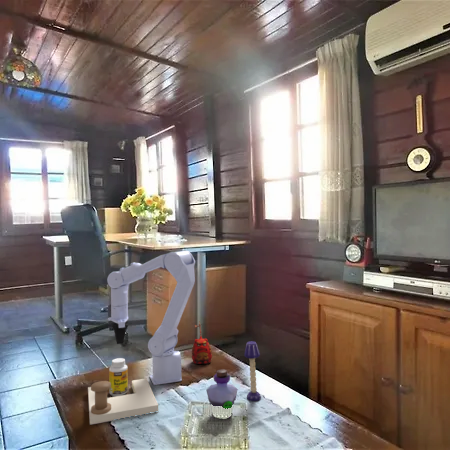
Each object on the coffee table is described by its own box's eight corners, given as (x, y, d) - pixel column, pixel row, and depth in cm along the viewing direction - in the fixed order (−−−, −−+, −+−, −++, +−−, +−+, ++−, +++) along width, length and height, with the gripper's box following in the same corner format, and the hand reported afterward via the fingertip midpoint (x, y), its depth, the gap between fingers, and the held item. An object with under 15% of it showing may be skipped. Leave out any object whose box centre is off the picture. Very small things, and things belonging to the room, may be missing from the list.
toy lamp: (249, 403, 112) (249, 345, 112) (241, 396, 116) (241, 341, 116) (263, 399, 114) (263, 343, 114) (255, 393, 118) (254, 339, 118)
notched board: (146, 384, 125) (146, 357, 126) (158, 412, 107) (158, 380, 107) (88, 393, 119) (87, 365, 119) (89, 424, 100) (89, 391, 100)
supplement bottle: (111, 398, 116) (111, 364, 116) (107, 391, 120) (107, 359, 120) (130, 394, 118) (129, 361, 118) (125, 387, 123) (124, 355, 123)
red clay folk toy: (193, 366, 142) (192, 325, 142) (190, 359, 148) (190, 321, 148) (213, 364, 143) (213, 324, 143) (209, 358, 150) (209, 319, 150)
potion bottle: (222, 426, 99) (222, 379, 99) (199, 415, 105) (199, 371, 105) (244, 414, 105) (244, 370, 105) (221, 404, 111) (221, 362, 111)
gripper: (106, 302, 141) (106, 338, 141) (109, 310, 128) (109, 350, 128) (126, 300, 144) (126, 336, 144) (130, 308, 130) (131, 348, 130)
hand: (119, 343), depth 136 cm, fingers closed
